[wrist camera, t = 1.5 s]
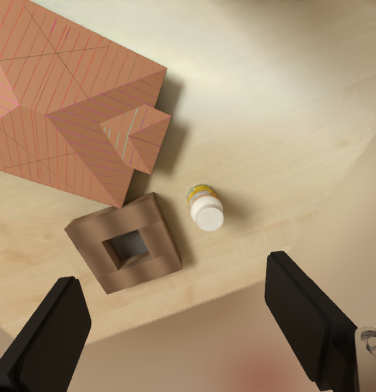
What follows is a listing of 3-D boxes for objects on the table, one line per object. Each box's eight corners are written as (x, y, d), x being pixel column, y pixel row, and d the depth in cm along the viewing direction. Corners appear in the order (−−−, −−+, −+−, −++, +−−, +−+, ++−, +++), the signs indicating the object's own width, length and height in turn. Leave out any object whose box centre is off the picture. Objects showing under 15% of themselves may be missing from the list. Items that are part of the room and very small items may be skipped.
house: (139, 206, 38) (132, 227, 30) (-67, 140, 31) (-143, 145, 23) (183, 81, 31) (188, 68, 24) (-65, -40, 24) (-171, -113, 17)
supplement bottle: (184, 186, 37) (189, 207, 28) (212, 180, 37) (226, 199, 28) (189, 212, 39) (195, 238, 30) (215, 206, 39) (230, 231, 30)
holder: (153, 192, 37) (152, 198, 34) (181, 258, 43) (182, 269, 39) (73, 219, 37) (64, 229, 34) (111, 281, 43) (107, 294, 40)
